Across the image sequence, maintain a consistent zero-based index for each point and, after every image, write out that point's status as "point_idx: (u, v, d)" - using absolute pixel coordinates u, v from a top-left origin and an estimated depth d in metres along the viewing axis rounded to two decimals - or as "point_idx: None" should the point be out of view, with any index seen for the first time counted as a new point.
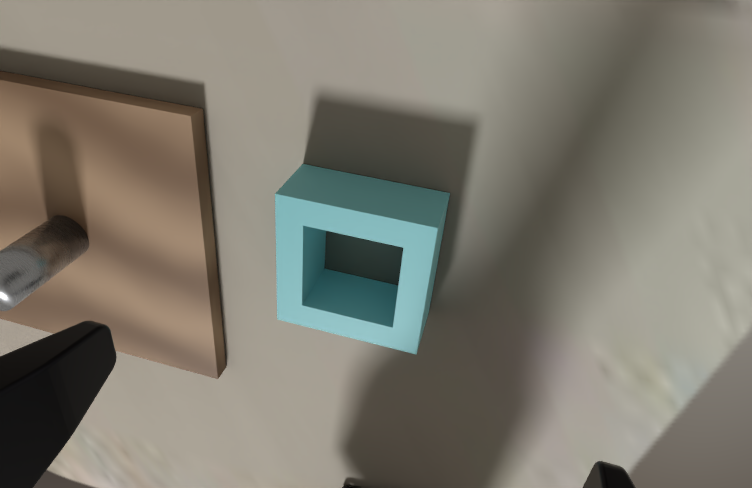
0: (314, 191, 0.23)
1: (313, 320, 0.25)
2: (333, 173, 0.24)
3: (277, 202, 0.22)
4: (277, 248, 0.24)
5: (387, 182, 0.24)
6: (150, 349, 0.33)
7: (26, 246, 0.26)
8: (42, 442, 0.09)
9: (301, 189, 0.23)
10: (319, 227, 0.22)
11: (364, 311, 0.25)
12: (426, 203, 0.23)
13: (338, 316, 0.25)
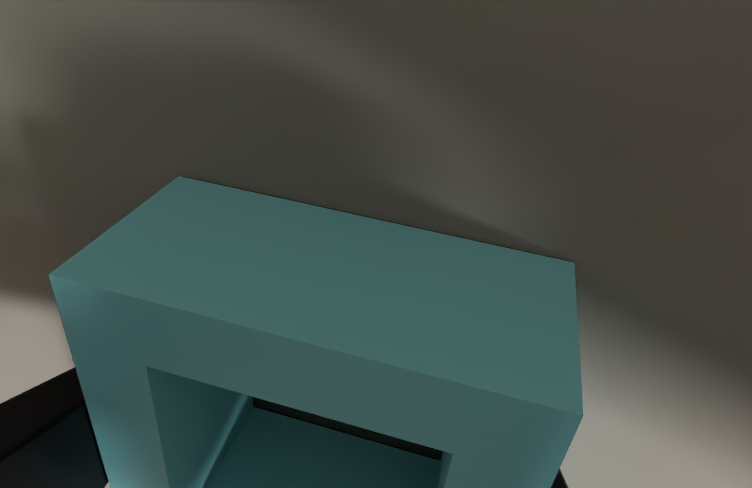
0: None
1: None
2: None
3: None
4: None
5: None
6: None
7: None
8: (101, 461, 0.09)
9: None
10: None
11: (442, 482, 0.08)
12: None
13: None
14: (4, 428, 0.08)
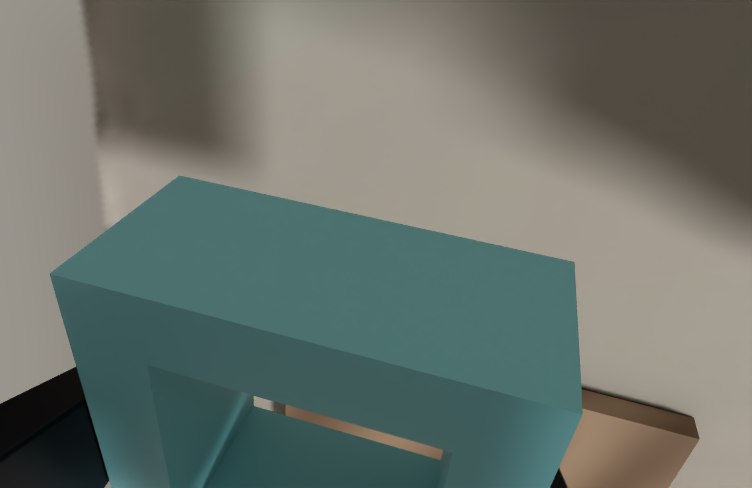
0: None
1: None
2: None
3: None
4: None
5: None
6: None
7: None
8: (101, 461, 0.09)
9: None
10: None
11: (442, 481, 0.08)
12: None
13: None
14: (4, 428, 0.08)
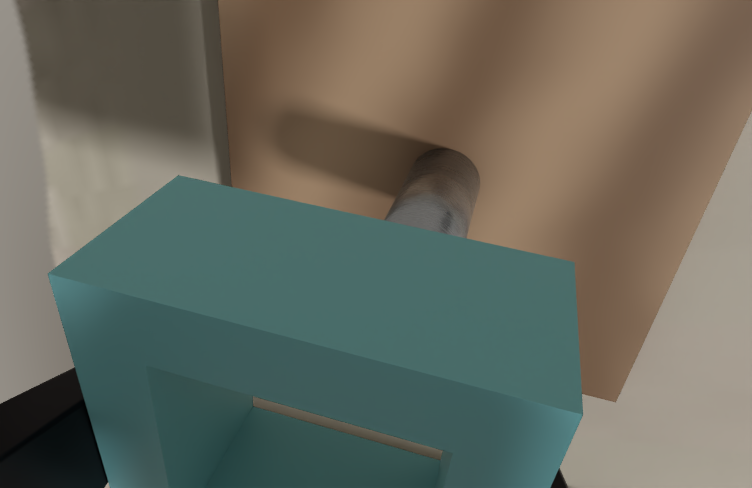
0: None
1: None
2: None
3: None
4: None
5: None
6: (713, 109, 0.16)
7: None
8: (101, 461, 0.09)
9: None
10: None
11: (442, 482, 0.08)
12: None
13: None
14: (4, 428, 0.08)
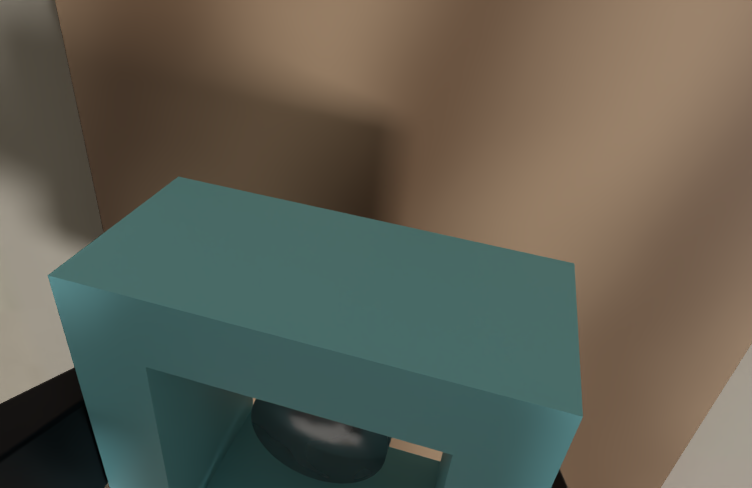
0: None
1: None
2: None
3: None
4: None
5: None
6: None
7: None
8: (101, 461, 0.09)
9: None
10: None
11: (441, 483, 0.08)
12: None
13: None
14: (4, 428, 0.08)
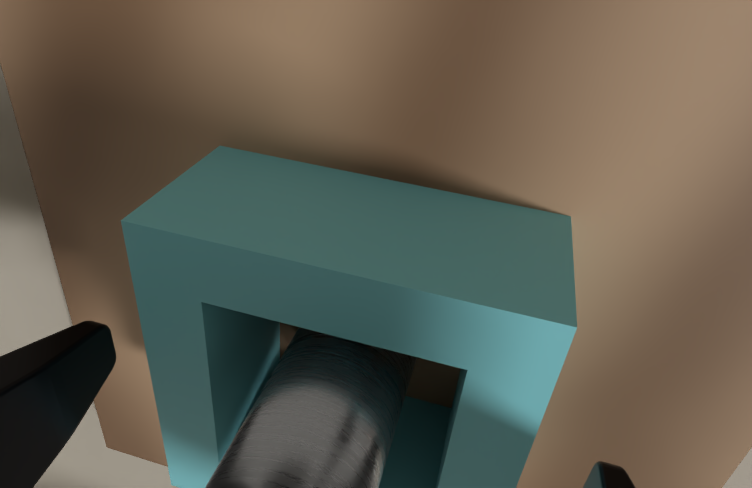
0: None
1: None
2: None
3: (187, 487, 0.12)
4: None
5: None
6: None
7: (262, 390, 0.10)
8: (42, 442, 0.09)
9: None
10: (214, 442, 0.11)
11: (456, 406, 0.09)
12: None
13: (448, 476, 0.09)
14: None
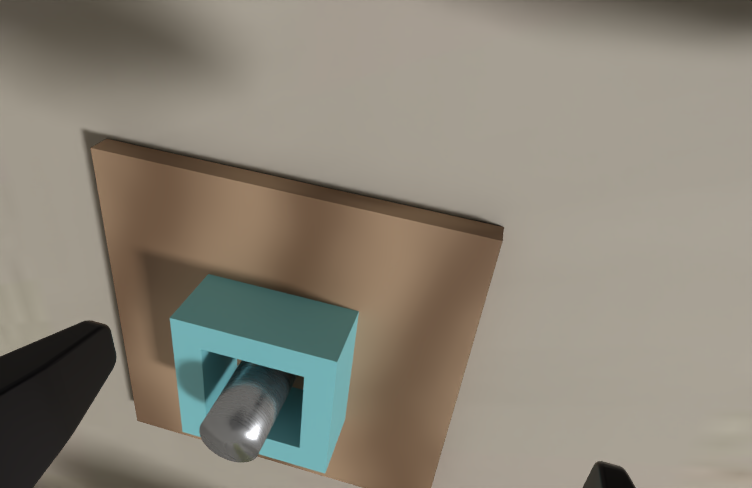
0: None
1: (316, 444, 0.23)
2: None
3: (190, 432, 0.24)
4: None
5: None
6: (452, 326, 0.22)
7: None
8: (42, 442, 0.09)
9: None
10: (204, 409, 0.23)
11: None
12: None
13: (304, 421, 0.22)
14: None
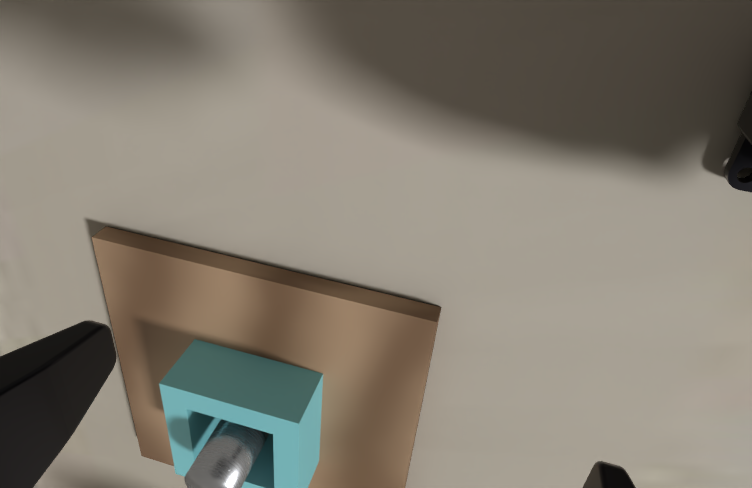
0: None
1: None
2: None
3: (182, 474, 0.28)
4: None
5: None
6: (402, 388, 0.25)
7: (209, 437, 0.26)
8: (42, 442, 0.09)
9: None
10: (192, 456, 0.27)
11: None
12: None
13: (276, 469, 0.26)
14: None
